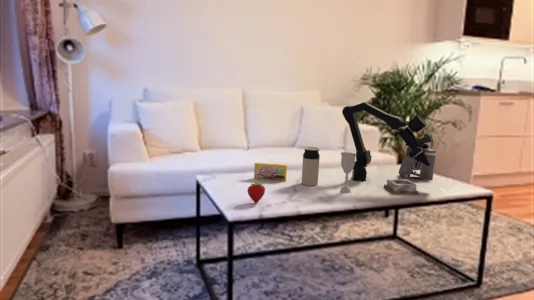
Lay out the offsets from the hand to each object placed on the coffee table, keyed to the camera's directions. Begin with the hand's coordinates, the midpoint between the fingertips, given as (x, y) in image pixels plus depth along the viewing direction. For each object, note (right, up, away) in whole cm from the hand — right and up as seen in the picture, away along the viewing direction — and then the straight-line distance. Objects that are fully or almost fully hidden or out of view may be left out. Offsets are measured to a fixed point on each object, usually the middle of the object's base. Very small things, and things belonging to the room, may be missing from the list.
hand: (430, 164), depth 205 cm
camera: (+3, -8, +31) cm, 33 cm away
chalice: (-41, -13, -4) cm, 43 cm away
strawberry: (-83, -15, -28) cm, 89 cm away
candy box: (-77, -8, +12) cm, 78 cm away
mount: (-14, -13, +2) cm, 19 cm away
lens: (-2, -7, +2) cm, 7 cm away
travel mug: (-57, -10, +7) cm, 58 cm away
